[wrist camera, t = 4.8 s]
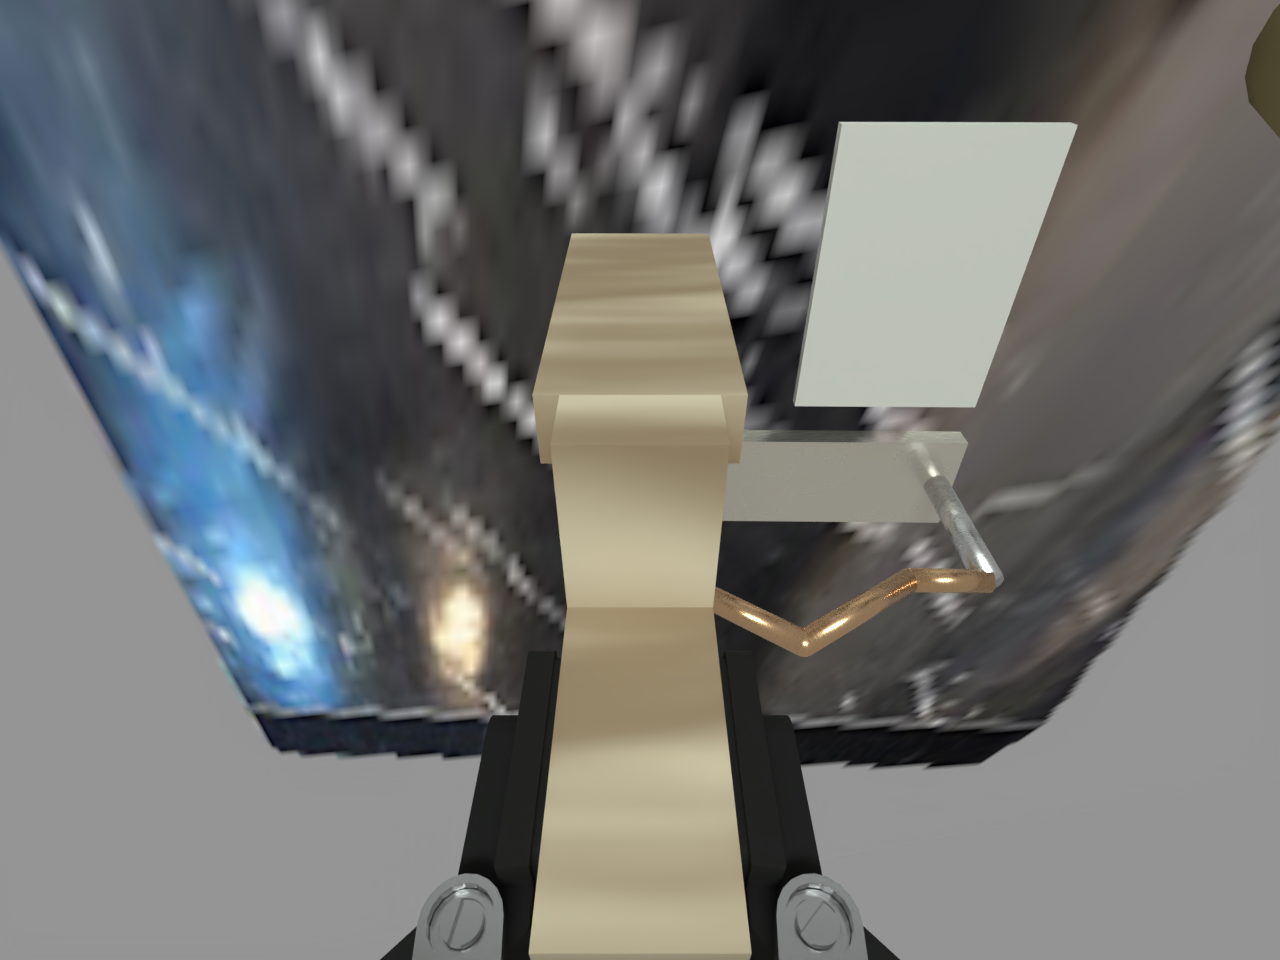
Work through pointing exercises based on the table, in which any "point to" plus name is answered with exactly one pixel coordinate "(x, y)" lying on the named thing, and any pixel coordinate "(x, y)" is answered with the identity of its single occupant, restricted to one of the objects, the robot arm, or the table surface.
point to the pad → (922, 258)
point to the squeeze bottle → (1266, 73)
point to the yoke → (640, 606)
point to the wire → (853, 514)
